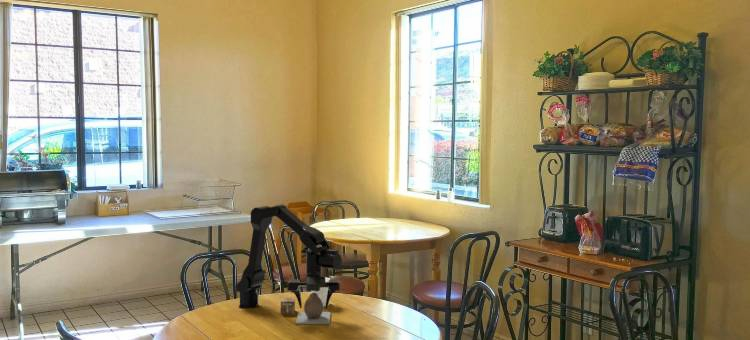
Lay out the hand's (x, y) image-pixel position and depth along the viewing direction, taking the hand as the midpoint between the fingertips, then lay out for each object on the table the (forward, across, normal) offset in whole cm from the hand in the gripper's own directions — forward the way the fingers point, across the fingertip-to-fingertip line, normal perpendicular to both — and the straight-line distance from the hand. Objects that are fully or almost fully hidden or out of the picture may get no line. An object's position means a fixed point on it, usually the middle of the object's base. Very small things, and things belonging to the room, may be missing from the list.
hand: (313, 308), depth 229 cm
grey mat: (+4, 0, 0) cm, 4 cm away
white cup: (+4, +2, +18) cm, 19 cm away
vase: (+4, 0, 0) cm, 4 cm away
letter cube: (+4, -10, +8) cm, 13 cm away
